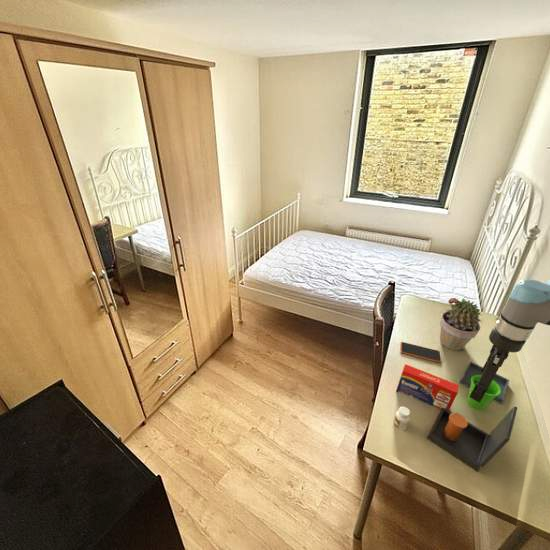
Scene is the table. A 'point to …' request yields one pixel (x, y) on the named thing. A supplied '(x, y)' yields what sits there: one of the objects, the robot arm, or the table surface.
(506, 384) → the tray
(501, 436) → the lid
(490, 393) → the cup
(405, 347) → the smartphone
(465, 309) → the potted plant
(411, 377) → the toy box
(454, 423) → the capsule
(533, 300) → the robot arm
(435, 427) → the dark grey box base
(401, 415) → the pill bottle
